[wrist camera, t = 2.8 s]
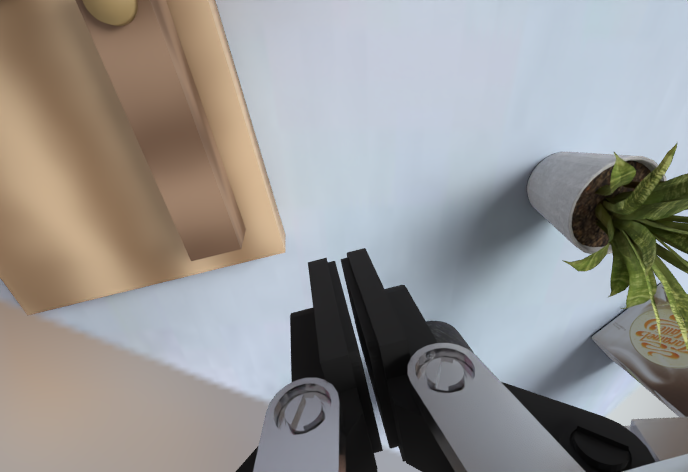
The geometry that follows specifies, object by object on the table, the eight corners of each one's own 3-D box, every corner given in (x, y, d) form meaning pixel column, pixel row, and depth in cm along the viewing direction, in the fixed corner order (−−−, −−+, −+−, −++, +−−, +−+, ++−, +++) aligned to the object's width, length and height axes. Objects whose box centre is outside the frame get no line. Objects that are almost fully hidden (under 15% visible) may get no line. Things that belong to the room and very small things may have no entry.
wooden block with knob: (188, -90, 20) (147, -158, 14) (285, 234, 28) (285, 277, 23) (-156, -23, 19) (-355, -65, 13) (52, 291, 27) (-10, 351, 22)
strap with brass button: (93, -20, 18) (51, -39, 15) (155, -32, 18) (126, -54, 15) (201, 239, 24) (188, 266, 21) (246, 229, 24) (240, 253, 21)
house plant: (615, 258, 34) (862, 399, 20) (475, 280, 33) (629, 449, 18) (657, 97, 28) (1062, 128, 14) (489, 116, 27) (736, 173, 12)
